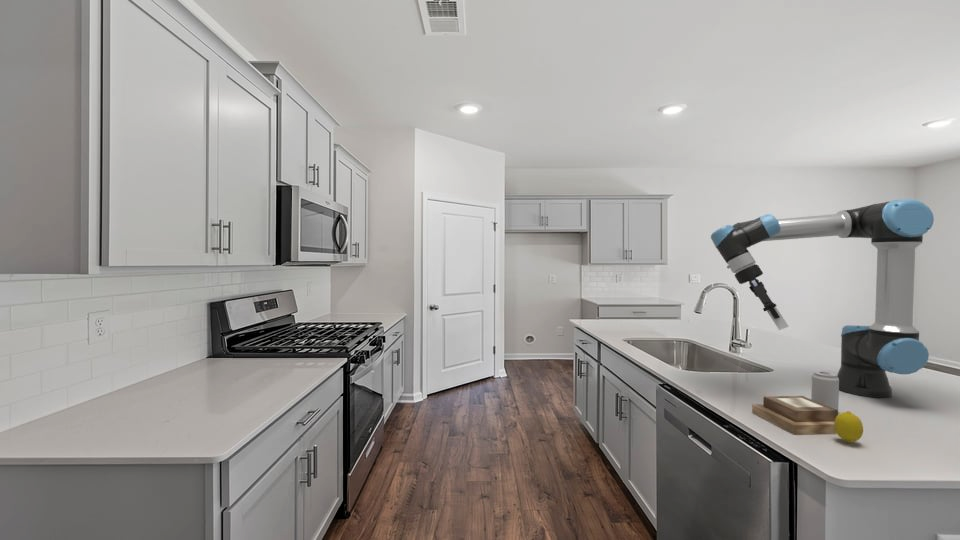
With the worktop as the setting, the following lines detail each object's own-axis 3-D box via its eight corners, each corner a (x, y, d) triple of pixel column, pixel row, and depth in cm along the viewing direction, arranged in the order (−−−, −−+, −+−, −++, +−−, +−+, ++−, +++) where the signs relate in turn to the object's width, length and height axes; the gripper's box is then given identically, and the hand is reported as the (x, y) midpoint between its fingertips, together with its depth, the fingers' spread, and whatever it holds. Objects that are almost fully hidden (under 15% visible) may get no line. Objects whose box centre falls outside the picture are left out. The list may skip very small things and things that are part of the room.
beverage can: (832, 410, 132) (833, 371, 131) (842, 417, 126) (843, 376, 125) (807, 407, 134) (808, 369, 133) (816, 414, 128) (817, 374, 127)
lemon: (828, 438, 111) (828, 407, 111) (847, 437, 111) (848, 407, 111) (848, 448, 106) (849, 415, 105) (868, 447, 106) (869, 415, 106)
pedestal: (802, 411, 130) (803, 392, 130) (851, 433, 114) (851, 412, 114) (752, 412, 129) (752, 393, 129) (794, 434, 113) (794, 413, 113)
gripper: (735, 276, 154) (770, 330, 148) (731, 271, 134) (771, 334, 127) (757, 266, 151) (793, 321, 144) (756, 259, 130) (798, 323, 124)
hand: (783, 327), depth 136 cm, fingers open, 13 cm apart
